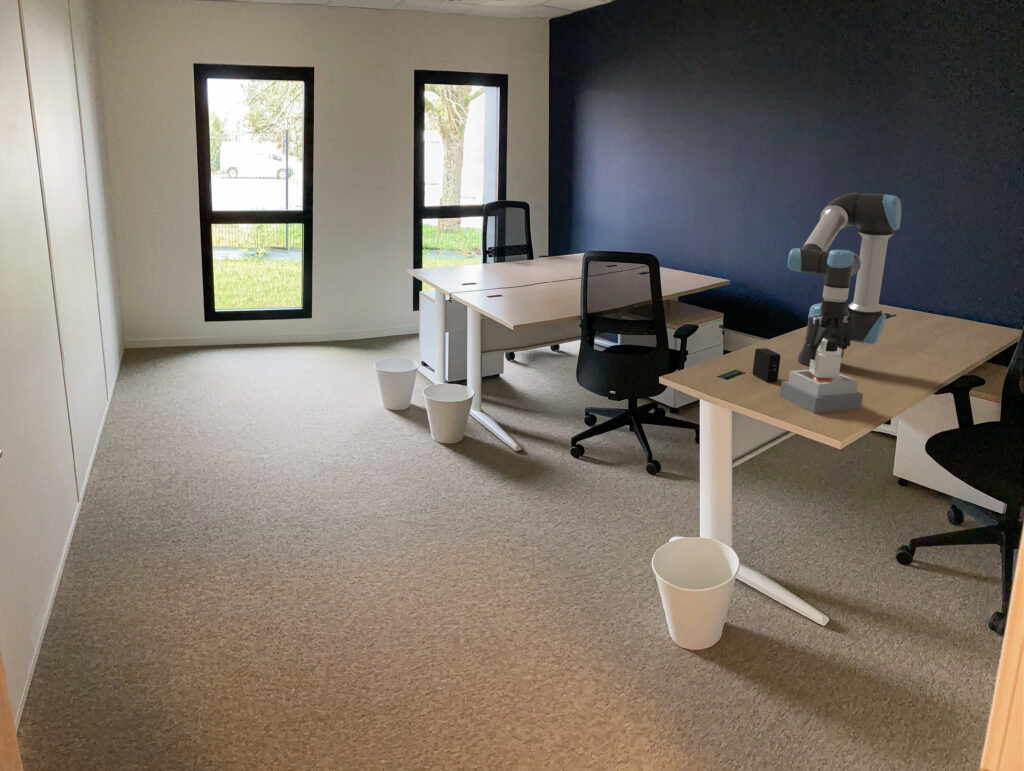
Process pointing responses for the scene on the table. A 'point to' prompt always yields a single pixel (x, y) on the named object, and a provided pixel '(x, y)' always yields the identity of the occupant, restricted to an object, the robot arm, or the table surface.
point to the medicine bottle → (827, 360)
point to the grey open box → (821, 392)
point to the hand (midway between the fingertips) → (824, 368)
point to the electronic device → (766, 365)
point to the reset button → (822, 379)
